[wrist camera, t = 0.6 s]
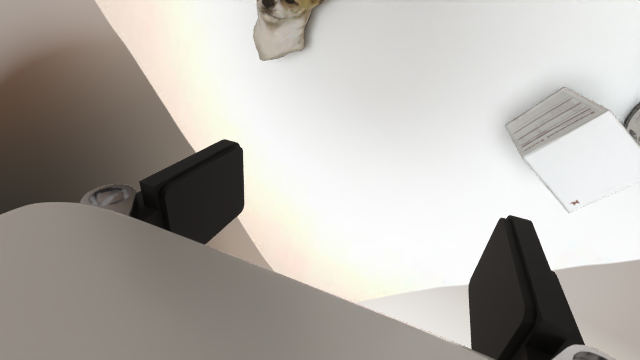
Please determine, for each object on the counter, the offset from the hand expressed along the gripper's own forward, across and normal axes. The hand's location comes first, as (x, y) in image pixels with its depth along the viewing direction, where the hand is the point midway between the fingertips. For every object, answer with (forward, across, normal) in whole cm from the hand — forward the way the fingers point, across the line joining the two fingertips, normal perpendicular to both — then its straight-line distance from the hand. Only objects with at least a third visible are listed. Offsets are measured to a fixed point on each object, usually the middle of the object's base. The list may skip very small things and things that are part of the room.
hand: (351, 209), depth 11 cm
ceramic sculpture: (+36, +19, -7) cm, 41 cm away
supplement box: (+36, -16, +4) cm, 39 cm away
